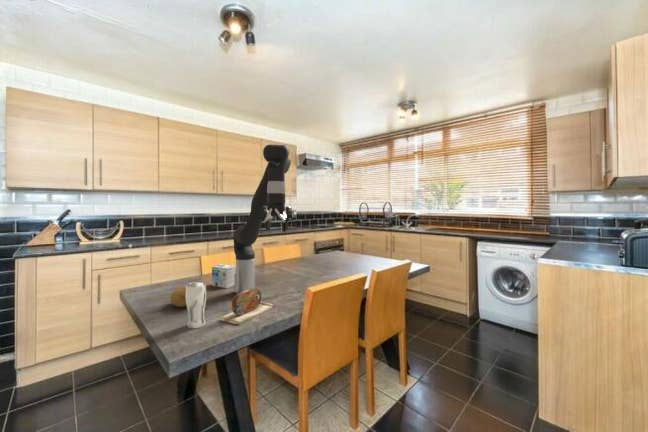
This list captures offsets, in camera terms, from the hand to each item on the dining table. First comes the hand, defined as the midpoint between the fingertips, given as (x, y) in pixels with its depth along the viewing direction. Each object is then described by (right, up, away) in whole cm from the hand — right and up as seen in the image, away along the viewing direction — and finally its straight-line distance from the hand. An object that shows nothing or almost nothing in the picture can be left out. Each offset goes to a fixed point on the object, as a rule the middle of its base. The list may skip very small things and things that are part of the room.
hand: (276, 230), depth 116 cm
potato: (-41, -33, +3) cm, 53 cm away
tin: (-11, -33, -4) cm, 35 cm away
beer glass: (-26, -34, -16) cm, 46 cm away
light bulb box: (-35, -32, +34) cm, 58 cm away
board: (-11, -33, -5) cm, 35 cm away
